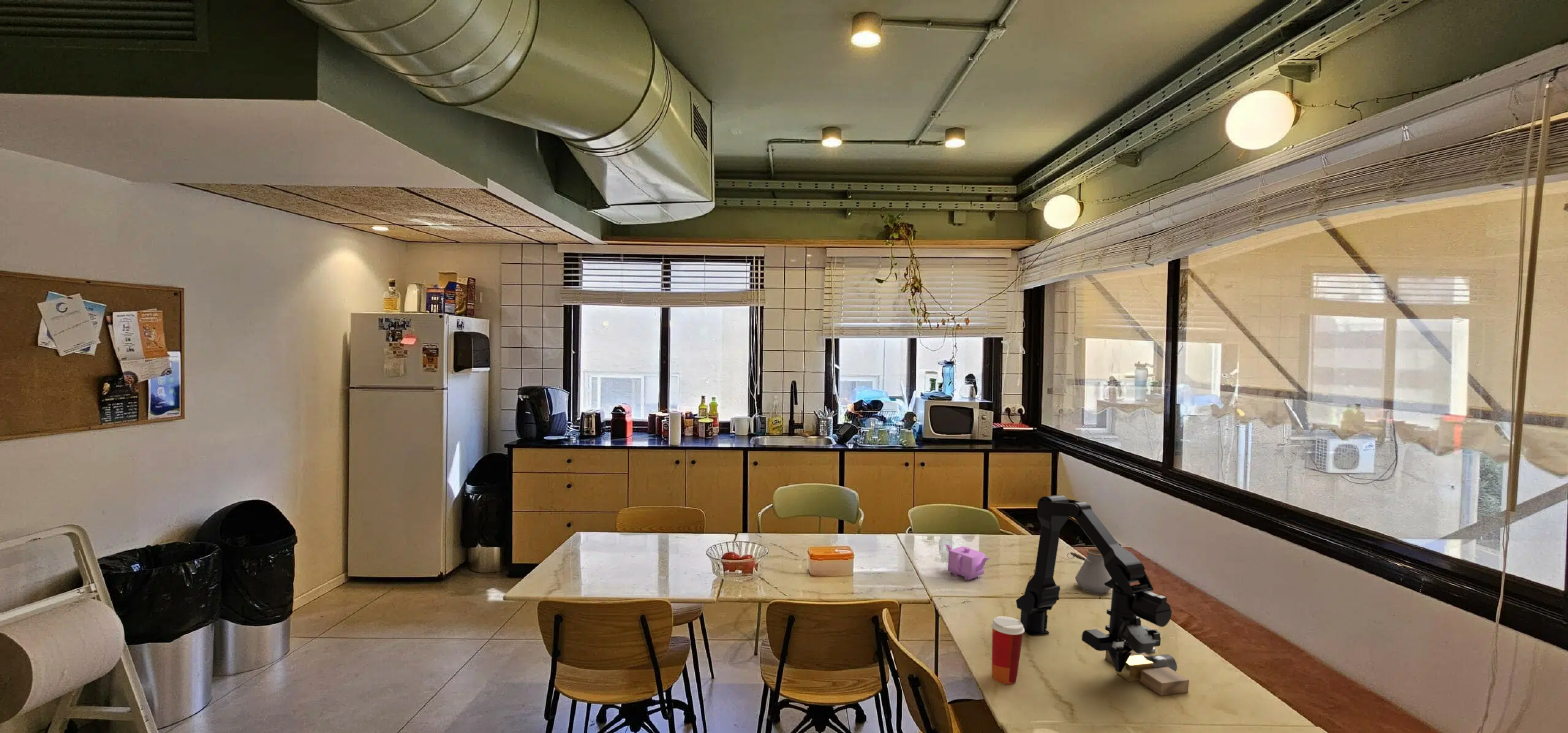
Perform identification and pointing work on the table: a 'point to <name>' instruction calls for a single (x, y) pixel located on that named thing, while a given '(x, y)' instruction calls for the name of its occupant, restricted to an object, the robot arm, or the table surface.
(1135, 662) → the block
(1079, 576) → the coffee pot
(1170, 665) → the dark grey rounded block
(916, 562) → the table surface
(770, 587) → the table surface
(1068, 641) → the table surface
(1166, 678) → the beam
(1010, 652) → the paper cup
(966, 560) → the teapot
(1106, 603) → the table surface
